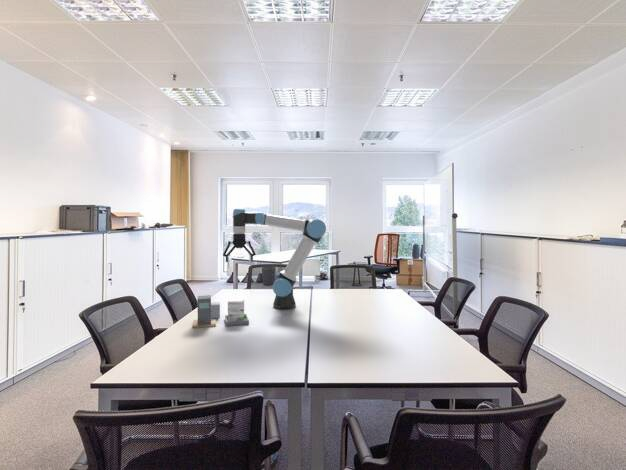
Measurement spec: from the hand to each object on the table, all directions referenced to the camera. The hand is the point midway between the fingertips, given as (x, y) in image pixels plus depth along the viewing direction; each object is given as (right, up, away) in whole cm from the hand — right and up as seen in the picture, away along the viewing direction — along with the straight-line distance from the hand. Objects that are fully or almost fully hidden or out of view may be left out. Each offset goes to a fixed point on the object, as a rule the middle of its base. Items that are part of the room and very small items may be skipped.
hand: (239, 266), depth 215 cm
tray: (+3, -30, -21) cm, 36 cm away
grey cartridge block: (-12, -29, -10) cm, 33 cm away
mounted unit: (-14, -30, -25) cm, 41 cm away
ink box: (+3, -29, -21) cm, 36 cm away
